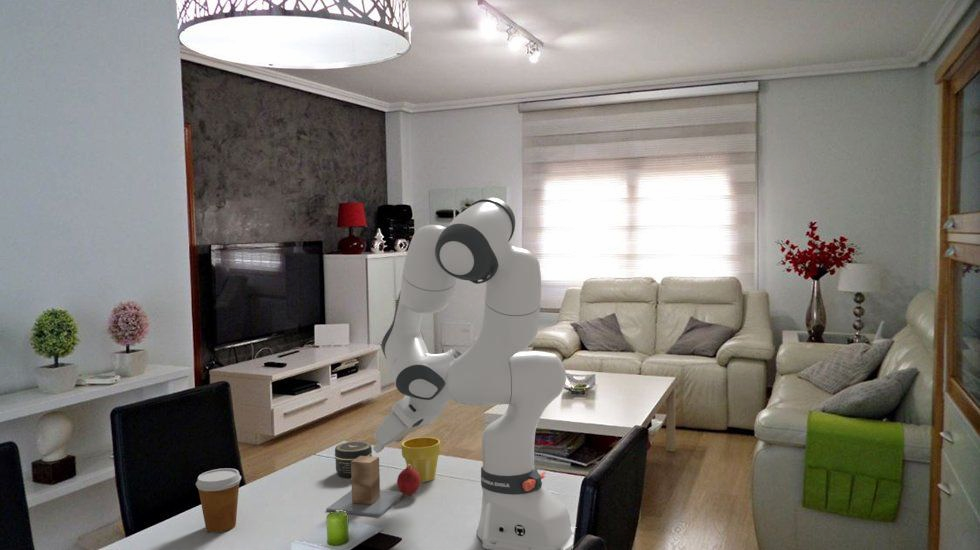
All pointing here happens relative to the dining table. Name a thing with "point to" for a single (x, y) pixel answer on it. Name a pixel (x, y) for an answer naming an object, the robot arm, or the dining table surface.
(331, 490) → the dining table surface
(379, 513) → the slate coaster
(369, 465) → the walnut block
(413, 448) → the plant pot
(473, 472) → the dining table surface
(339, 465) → the jar
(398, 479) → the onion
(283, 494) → the dining table surface
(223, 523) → the disposable coffee cup
